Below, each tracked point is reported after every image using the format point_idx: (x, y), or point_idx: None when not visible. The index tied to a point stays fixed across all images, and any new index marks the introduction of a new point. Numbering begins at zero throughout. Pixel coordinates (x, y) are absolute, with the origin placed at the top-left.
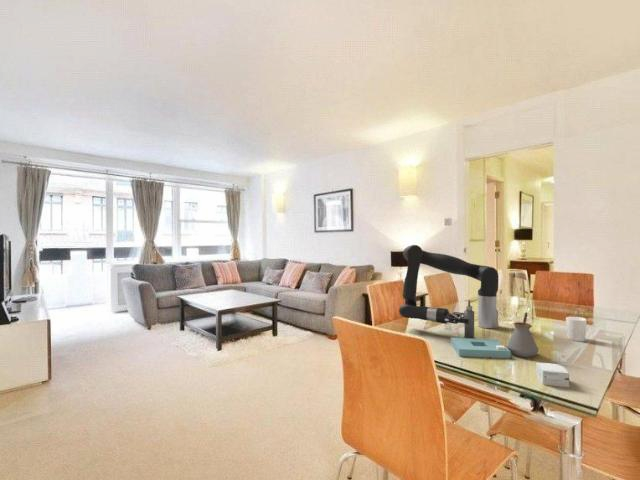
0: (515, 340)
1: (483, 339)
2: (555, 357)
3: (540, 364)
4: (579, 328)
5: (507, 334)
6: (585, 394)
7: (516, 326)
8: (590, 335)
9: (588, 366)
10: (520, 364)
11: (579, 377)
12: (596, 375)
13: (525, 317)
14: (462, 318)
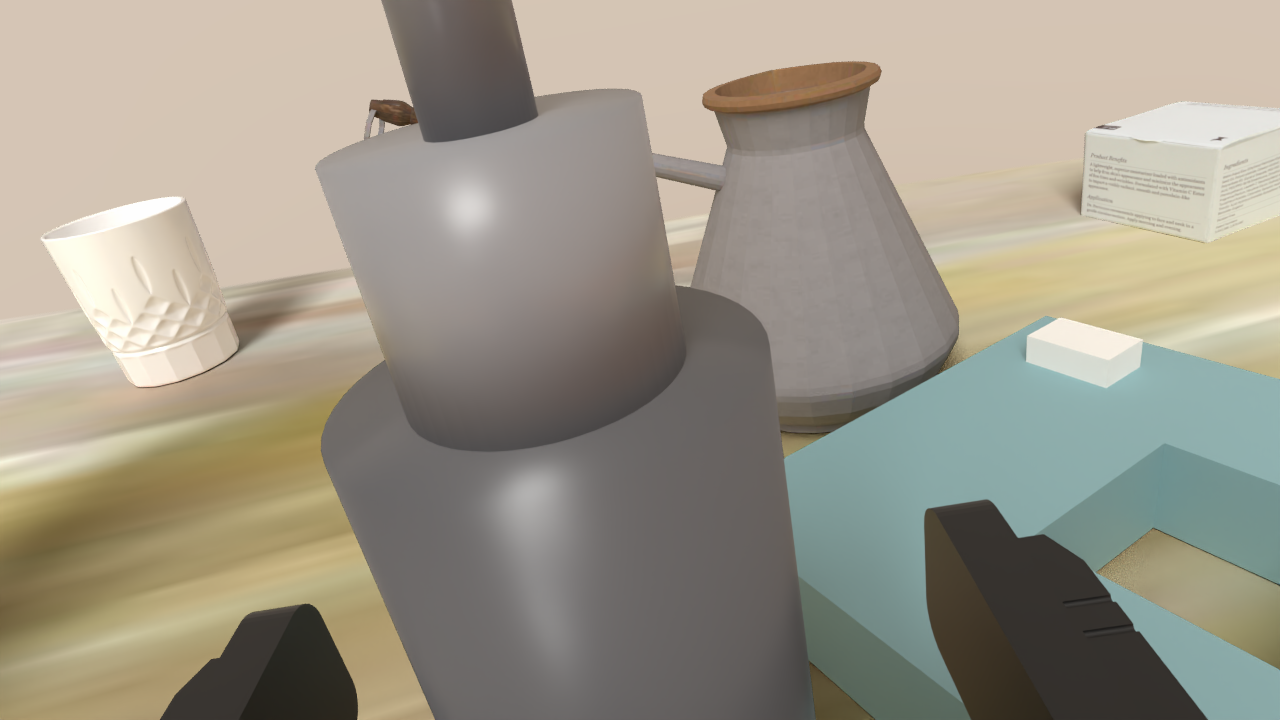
0: (917, 240)
1: (886, 592)
2: None
3: (1235, 133)
4: (207, 257)
5: (73, 673)
6: None
7: (860, 97)
8: (70, 359)
9: None
10: (1105, 321)
11: (966, 206)
12: None
13: None
14: (1078, 658)
